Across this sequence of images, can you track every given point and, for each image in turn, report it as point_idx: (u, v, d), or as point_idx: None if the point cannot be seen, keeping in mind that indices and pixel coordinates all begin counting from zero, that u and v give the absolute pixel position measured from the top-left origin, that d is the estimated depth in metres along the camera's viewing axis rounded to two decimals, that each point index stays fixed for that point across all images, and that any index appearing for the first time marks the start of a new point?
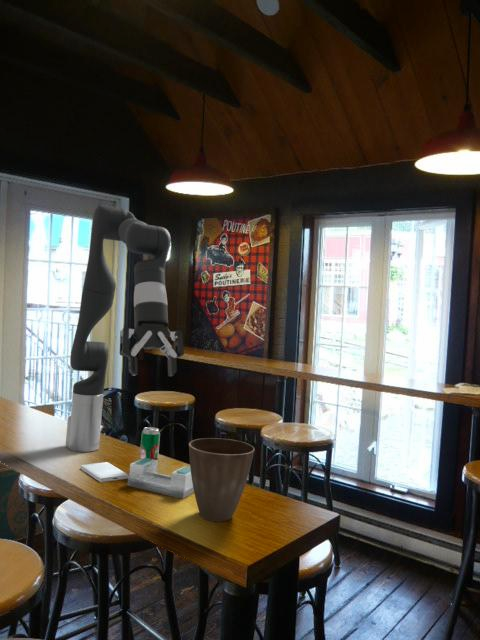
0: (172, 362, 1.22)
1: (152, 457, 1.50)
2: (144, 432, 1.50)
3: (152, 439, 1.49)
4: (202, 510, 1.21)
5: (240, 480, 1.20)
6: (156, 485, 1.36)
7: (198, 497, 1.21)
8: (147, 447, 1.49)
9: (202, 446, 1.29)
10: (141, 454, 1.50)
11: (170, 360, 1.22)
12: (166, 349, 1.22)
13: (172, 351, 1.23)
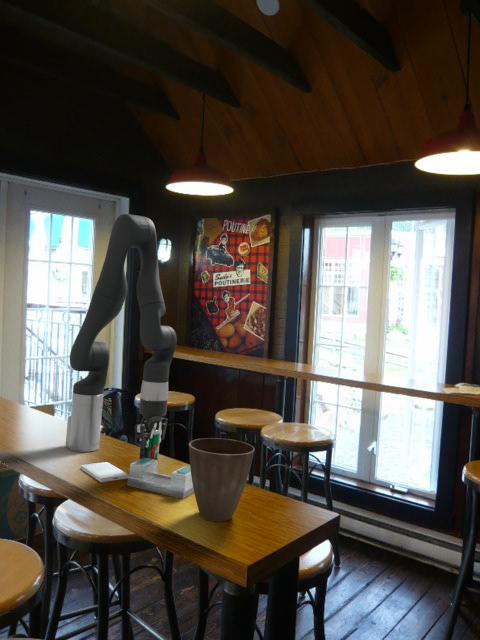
0: None
1: (152, 457, 1.50)
2: None
3: (152, 439, 1.49)
4: (202, 510, 1.21)
5: (240, 480, 1.20)
6: (156, 485, 1.36)
7: (198, 497, 1.21)
8: None
9: (202, 446, 1.29)
10: None
11: None
12: None
13: (160, 437, 1.54)
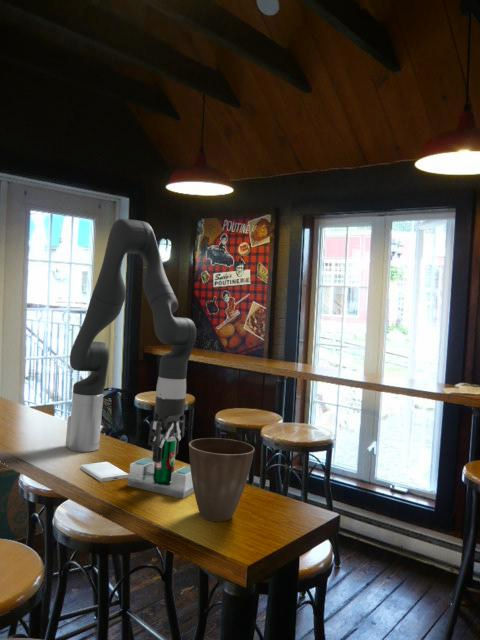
0: (177, 444, 1.43)
1: (168, 466, 1.38)
2: None
3: (168, 446, 1.37)
4: (202, 510, 1.21)
5: (240, 480, 1.20)
6: (156, 485, 1.36)
7: (198, 497, 1.21)
8: (163, 455, 1.37)
9: (202, 446, 1.29)
10: (156, 463, 1.38)
11: (176, 442, 1.43)
12: (176, 434, 1.42)
13: (179, 435, 1.43)
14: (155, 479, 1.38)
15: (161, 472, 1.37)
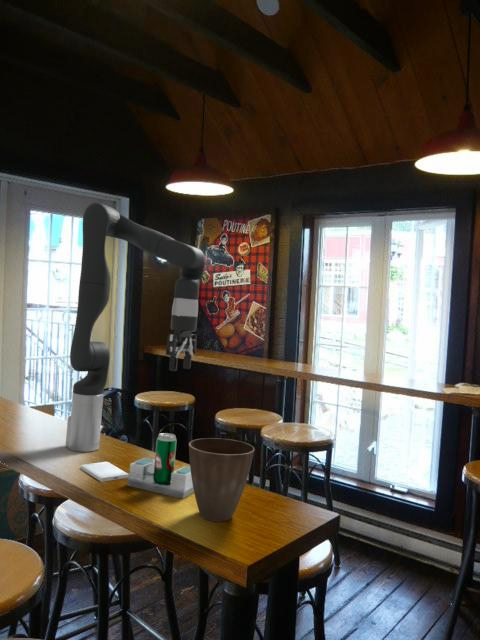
0: (190, 359, 1.64)
1: (168, 466, 1.38)
2: (159, 439, 1.38)
3: (168, 446, 1.37)
4: (202, 510, 1.21)
5: (240, 480, 1.20)
6: (156, 485, 1.36)
7: (198, 497, 1.21)
8: (163, 455, 1.37)
9: (202, 446, 1.29)
10: (156, 462, 1.38)
11: (189, 358, 1.63)
12: (189, 350, 1.62)
13: (191, 351, 1.64)
14: (155, 479, 1.38)
15: (161, 472, 1.37)
